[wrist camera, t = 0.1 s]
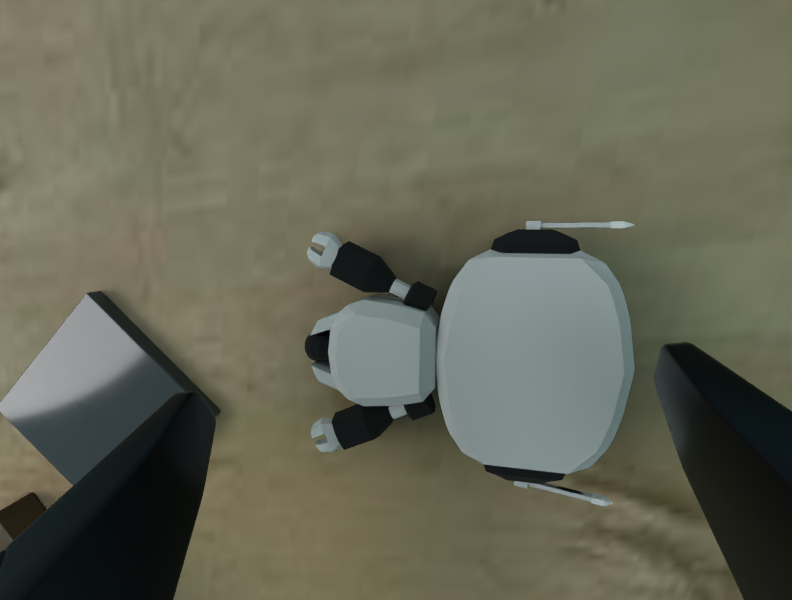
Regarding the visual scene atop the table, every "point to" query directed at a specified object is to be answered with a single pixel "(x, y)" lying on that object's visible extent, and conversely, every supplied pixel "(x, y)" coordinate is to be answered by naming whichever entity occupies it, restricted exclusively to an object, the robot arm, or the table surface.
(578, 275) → the robot toy
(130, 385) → the slate coaster
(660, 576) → the table surface
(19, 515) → the stacking stand
